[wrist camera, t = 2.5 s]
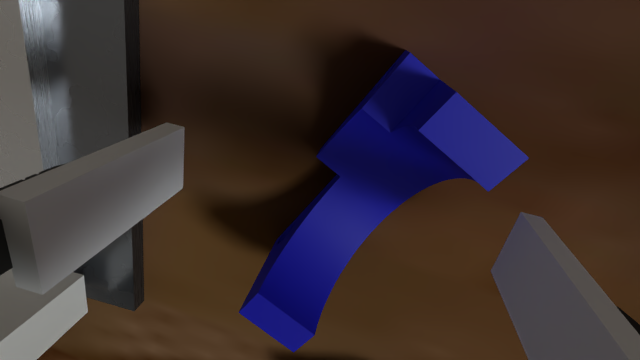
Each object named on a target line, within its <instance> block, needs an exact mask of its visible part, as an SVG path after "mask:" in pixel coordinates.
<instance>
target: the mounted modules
mask: <svg viewBox="0 0 640 360" xmlns="http://www.w3.org/2000/svg"><path fill="white" fill-rule="evenodd" d="M87 312H88V309H87V300H86V290H85V281H84V275H81V274H78V273H75V272H72V273H71V274H69V275H68V276H67V277H66V278H64V279H63V280H62V281H60V282H59V283H58V284H56V285H55V286H54V287H52V288H51V289H50V290H48V291H47V292H46V293H45V294H43V295H41V294H38V293H35V292H32V291H28V290H25V289H22V288H19V287H16V285H15V280H14V276H13V272H12V269H10V270H8V271H7V272H5V273H4V274H2V275H0V360H37V359H38V358H39V357H40V356H41V355H42V354H43V353H44V352H45V351H46V350H47V349H49V348H50V347H51V346H52V345H53V344H54V343H55V342H56V341H57V340H58V339H59V338H60V337H61V336H63V335H64V334H65V333H66V332H67V331H68V330H69V329H70V328H71V327H72V326H73V325H74V324H75V323H76V322H78V321H79V320H80V319H81V318H82V317H83V316H84V315H85V314H86V313H87Z"/></svg>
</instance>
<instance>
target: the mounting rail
mask: <svg viewBox="0 0 640 360" xmlns="http://www.w3.org/2000/svg"><path fill="white" fill-rule="evenodd" d="M140 133H141V107H140V50H139V0H0V188H2V187H4V186H6V185H9V184H11V183H14V182H16V181H19V180H21V179H22V180H25V178H26V177H29V176H31V175H34V174H39V172H41V171H44V170H46V169H49V168H51V167H54V166H57V165H62V164H67V163H69V162H72V161H74V160H76V159H79V158H81V157H84V156H86V155H89V154H91V153H94V152H96V151H98V150H101V149H103V148H106V147H108V146H111V145H113V144H115V143H118V142H120V141H123V140H125V139H128V138H130V137H133V136H135V135H137V134H140ZM73 272H75V273H78V274H81V275H84V281H85V290H86V297H88V298H91V299H95V300H98V301H101V302H105V303H108V304H112V305H115V306H118V307H122V308H125V309H129V310H132V311H135V310H136V309H137V308H138V307H139V306H140V304H141V303H142V302H143V301H144V275H143V219H142V220H140V221H139V222H138V223H136V224H135V225H134V226H133V227H131V228H130V229H129V230H127V231H126V232H125V233H123V234H122V235H121V236H119V237H118V238H117V239H115V240H114V241H113V242H112V243H110V244H109V245H108V246H106V247H105V248H104V249H102V250H101V251H100V252H98V253H97V254H96V255H94V256H93V257H92V258H90V259H89V260H88V261H87V262H85V263H84V264H83V265H81V266H80V267H79V268H77V269H76V270H75V271H73Z"/></svg>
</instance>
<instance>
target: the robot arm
mask: <svg viewBox="0 0 640 360" xmlns="http://www.w3.org/2000/svg"><path fill="white" fill-rule="evenodd" d="M184 129H185V127H182V126H178V125H174V124H170V123H164V124H162V125H159V126H157V127H155V128H152V129H150V130H147V131H145V132H142V133H140V134H137V135H135V136H133V137H130V138H128V139H125V140H123V141H120V142H118V143H115V144H113V145H111V146H108V147H106V148H103V149H101V150H98V151H96V152H94V153H91V154H89V155H86V156H84V157H81V158H79V159H76V160H74V161H72V162H69V163H67V164H62V165H57V166H54V167H51V168H49V169H46V170H44V171H41V172H39V174H34V175H31V176H29V177H26V178H25V180H22V179H21V180H19V181H16V182H14V183H11V184H9V185H6V186H4V187H2V188H0V275H2V274H4V273H5V272H7V271H8V270H10V269H12V272H13V276H14V280H15V285H16V287H19V288H22V289H25V290H28V291H32V292H35V293H38V294H41V295H43V294H45V293H46V292H47V291H48V290H50V289H51V288H52V287H54V286H55V285H56V284H58V283H59V282H60V281H62V280H63V279H64V278H66V277H67V276H68V275H69V274H71V273H72V272H73V271H75V270H76V269H77V268H79V267H80V266H81V265H83V264H84V263H85V262H87V261H88V260H89V259H90V258H92V257H93V256H94V255H96V254H97V253H98V252H100V251H101V250H102V249H104V248H105V247H106V246H108V245H109V244H110V243H112V242H113V241H114V240H115V239H117V238H118V237H119V236H121V235H122V234H123V233H125V232H126V231H127V230H129V229H130V228H131V227H133V226H134V225H135V224H136V223H138V222H139V221H140V220H142V219H143V218H144V217H146V216H147V215H148V214H150V213H151V212H152V211H154V210H155V209H156V208H157V207H159V206H160V205H161V204H163V203H164V202H165V201H167V200H168V199H169V198H171V197H172V196H173V195H175V194H176V193H177V192H179V191H180V190H181V189H182V188H183V166H184ZM491 273H492V275H493V277H494V280H495V282H496V285H497V287H498V289H499V292H500V294H501V296H502V299H503V301H504V303H505V306H506V308H507V310H508V313H509V315H510V317H511V320H512V322H513V324H514V327H515V329H516V332H517V334H518V336H519V339H520V341H521V343H522V346H523V348H524V350H525V353H526V355H527V357H528V360H640V325H639V324H638V323H637V322H636V321H635V320H633V319H632V318H631V317H630V316H628V315H627V314H626V313H625V312H624V311H622V310H621V309H620V308H619V307H616V306H615V305H614V303H613V302H612V301H611V300H610V299H609V297H608V296H607V295H606V294H605V292H604V291H603V290H602V289H601V288H600V286H599V285H598V284H597V283H596V282H595V280H594V279H593V278H592V277H591V276H590V274H589V273H588V272H587V271H586V269H585V268H584V267H583V266H582V265H581V263H580V262H579V261H578V260H577V259H576V257H575V256H574V255H573V254H572V253H571V251H570V250H569V249H568V248H567V246H566V245H565V244H564V243H563V242H562V240H561V239H560V238H559V237H558V236H557V234H556V233H555V232H554V231H553V230H552V228H551V227H550V226H549V225H548V223H547V222H546V221H545V220H544V219H543V218H542V217H539V216H535V215H531V214H527V213H523V212H521V213H520V215H519V217H518V219H517V221H516V223H515V225H514V227H513V229H512V231H511V233H510V235H509V236H508V238H507V240H506V242H505V244H504V246H503V248H502V250H501V252H500V254H499V256H498V258H497V260H496V262H495V264H494V266H493V268H492V270H491Z"/></svg>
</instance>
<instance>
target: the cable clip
mask: <svg viewBox="0 0 640 360" xmlns="http://www.w3.org/2000/svg"><path fill="white" fill-rule="evenodd" d="M316 157H317V158H318V159H319V160H321V161H322V162H323V163H324V164H326V165H327V166H328V167H329V168H330V169H332V170H333V171H334V172H335V173H336V174H337V175H336V176H335V177H334V178H333V179H332V180H331V181H330V182H329V183H328V184H327V186H326V187H325V188H324V189H323V190H322V191H321V192H320V193H319V194H318V195H317V196H316V197H315V199H314V200H313V201H312V202H311V203H310V204H309V205H308V206H307V207H306V208H305V209H304V210H303V212H302V213H301V214H300V215H299V216H298V217H297V218H296V219H295V220H294V221H293V222H292V223H291V225H290V226H289V227H288V228H287V229H286V230H285V231H284V232H283V233H282V234H281V235H280V236H279V238H278V239H277V240H276V242H275V244H274V246H273V248H272V250H271V251H270V253H269V255H268V257H267V259H266V261H265V263H264V265H263V267H262V269H261V271H260V273H259V274H258V276H257V278H256V280H255V282H254V284H253V286H252V288H251V290H250V292H249V294H248V296H247V297H246V299H245V301H244V303H243V305H242V307H241V309H240V311H239V313H240V314H241V315H243V316H244V317H246V318H247V319H248V320H250V321H251V322H252V323H254V324H255V325H257V326H258V327H259V328H261V329H262V330H263V331H265V332H266V333H268V334H269V335H270V336H272V337H273V338H274V339H276V340H277V341H279V342H280V343H281V344H283V345H284V346H286V347H287V348H288V349H290V350H291V351H292V352H295V351H296V350H297V349H298V348H299V347H301V346H302V345H303V344H304V343H306V342H307V341H308V340H309V339H310V338H312V337H313V336H314V335H315V331H316V328H317V324H318V321H319V318H320V315H321V312H322V310H323V307H324V305H325V303H326V300H327V298H328V296H329V294H330V292H331V290H332V288H333V286H334V284H335V282H336V281H337V279H338V277H339V275H340V274H341V272H342V270H343V269H344V267H345V266H346V264H347V263H348V261H349V260H350V258H351V257H352V255H353V254H354V253H355V251H356V250H357V249H358V247H359V246H360V245H361V244H362V242H363V241H364V240H365V239H366V238H367V236H368V235H369V234H370V233H371V232H372V231H373V230H374V229H375V228H376V226H377V225H378V224H379V223H380V222H381V221H382V220H383V219H384V218H385V217H387V216H388V215H389V214H390V213H391V212H392V211H393V210H394V209H396V208H397V207H398V206H399V205H401V204H402V203H403V202H404V201H406V200H407V199H409V198H410V197H411V196H413V195H415V194H416V193H418V192H419V191H421V190H423V189H425V188H427V187H429V186H431V185H433V184H435V183H438V182H441V181H444V180H448V179H454V178H466V179H472V180H474V181H476V182H478V183H479V184H480V185H481V186H482V187H484V188H485V189H486V190H487V191H490V190H491V189H492V188H493V187H495V186H496V185H497V184H498V183H499V182H501V181H502V180H503V179H504V178H505V177H507V176H508V175H509V174H510V173H511V172H513V171H514V170H515V169H516V168H518V167H519V166H520V165H521V164H522V163H524V162H525V161H526V160H527V159H528V157H527V156H526V155H525V154H524V153H523V152H522V151H521V150H520V149H518V148H517V147H516V146H515V145H514V144H513V143H512V142H511V141H510V140H509V139H507V138H506V137H505V136H504V135H503V134H502V133H501V132H500V131H499V130H498V129H496V128H495V127H494V126H493V125H492V124H491V123H490V122H489V121H488V120H487V119H485V118H484V117H483V116H482V115H481V114H480V113H479V112H478V111H477V110H476V109H474V108H473V107H472V106H471V105H470V104H469V103H468V102H467V101H466V100H465V99H463V98H462V97H461V96H460V95H459V94H458V93H457V92H456V91H454V90H453V89H452V88H450V87H449V86H448V85H446V84H445V83H444V82H442V81H441V80H440V79H439V78H438V77H437V76H435V75H434V74H433V73H432V72H431V71H430V70H429V69H428V68H427V67H426V66H424V65H423V64H422V63H421V62H420V61H419V60H418V59H417V58H416V57H415V56H413V55H412V54H411V53H410V52H408V51H407V50H405V51H404V52H403V53H402V55H401V56H400V57H399V58H398V59H397V60H396V62H395V63H394V64H393V65H392V66H391V67H390V69H389V70H388V71H387V72H386V73H385V74H384V76H383V77H382V78H381V79H380V80H379V81H378V83H377V84H376V85H375V86H374V87H373V88H372V90H371V91H370V92H369V93H368V94H367V95H366V97H365V98H364V99H363V100H362V101H361V102H360V103H359V105H358V106H357V107H356V108H355V109H354V110H353V112H352V113H351V114H350V115H349V116H348V117H347V119H346V120H345V121H344V122H343V123H342V124H341V126H340V127H339V128H338V129H337V130H336V131H335V133H334V134H333V135H332V136H331V137H330V138H329V140H328V141H327V142H326V143H325V144H324V145H323V147H322V148H321V149H320V151H319V153H318V154H317V156H316Z"/></svg>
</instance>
